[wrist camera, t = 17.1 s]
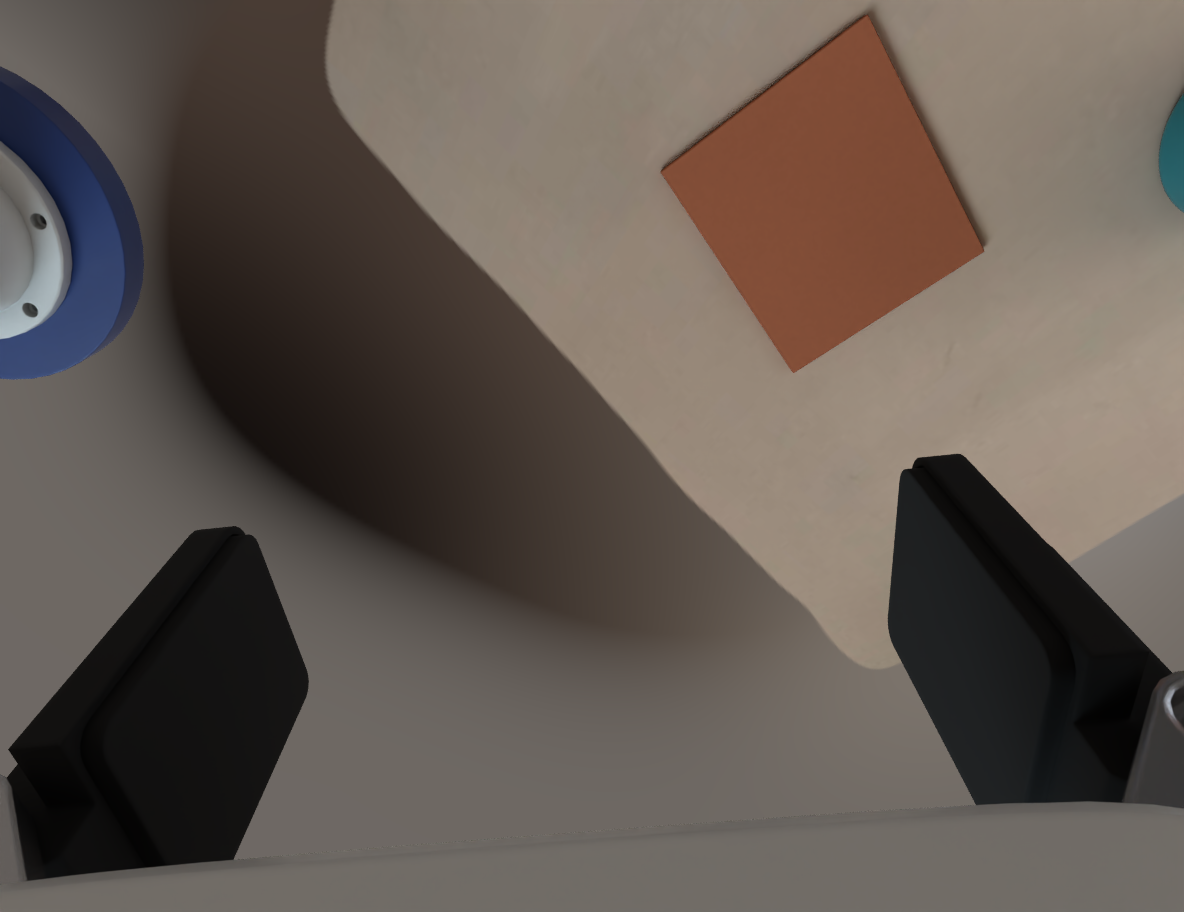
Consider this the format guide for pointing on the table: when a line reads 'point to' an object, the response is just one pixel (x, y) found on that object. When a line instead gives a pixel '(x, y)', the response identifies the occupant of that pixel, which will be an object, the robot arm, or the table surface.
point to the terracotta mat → (826, 199)
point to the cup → (1173, 156)
